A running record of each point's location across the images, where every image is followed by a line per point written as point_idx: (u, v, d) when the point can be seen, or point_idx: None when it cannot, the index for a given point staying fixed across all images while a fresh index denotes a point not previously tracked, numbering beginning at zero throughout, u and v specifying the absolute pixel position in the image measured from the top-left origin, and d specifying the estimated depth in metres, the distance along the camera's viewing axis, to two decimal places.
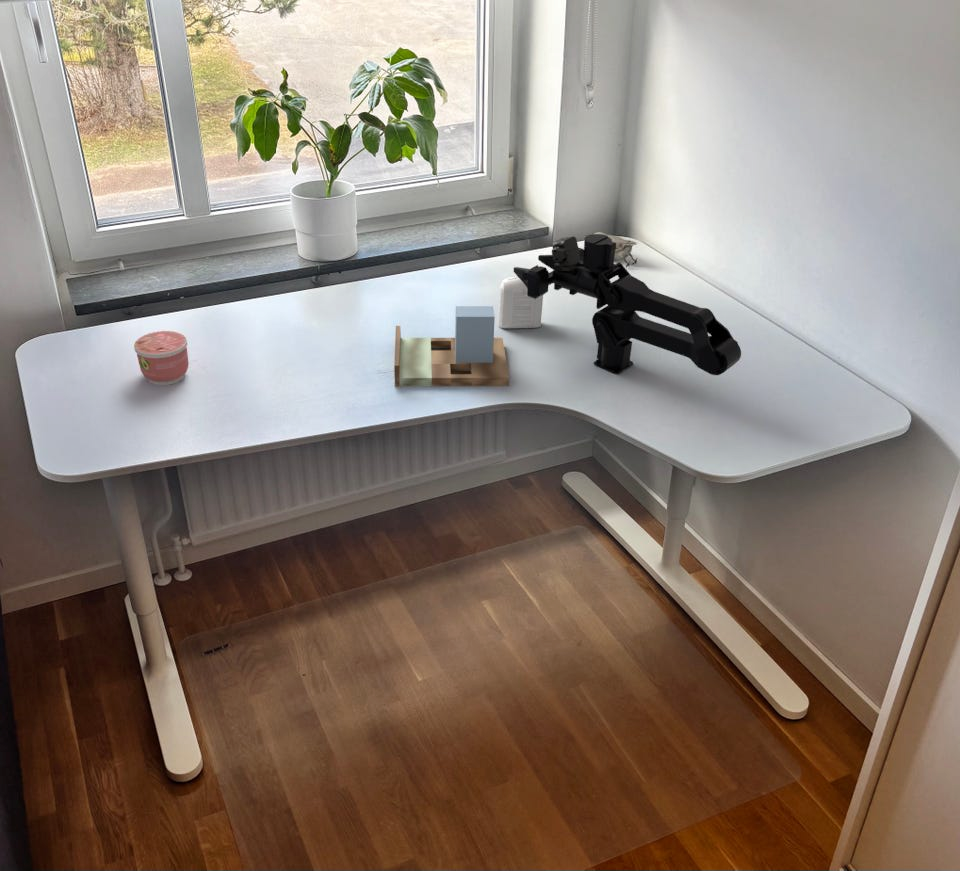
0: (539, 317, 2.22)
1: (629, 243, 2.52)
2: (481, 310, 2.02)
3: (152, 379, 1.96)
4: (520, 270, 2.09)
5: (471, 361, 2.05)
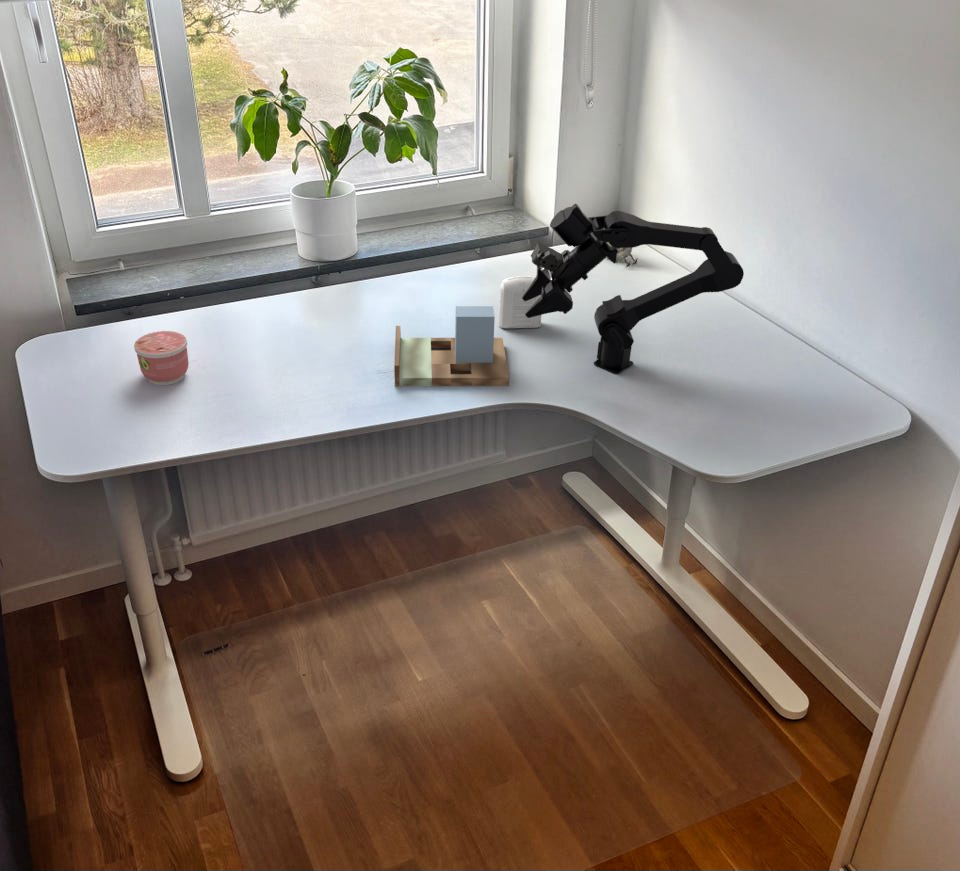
0: (539, 317, 2.22)
1: None
2: (481, 310, 2.02)
3: (152, 379, 1.96)
4: (533, 308, 1.96)
5: (471, 361, 2.05)
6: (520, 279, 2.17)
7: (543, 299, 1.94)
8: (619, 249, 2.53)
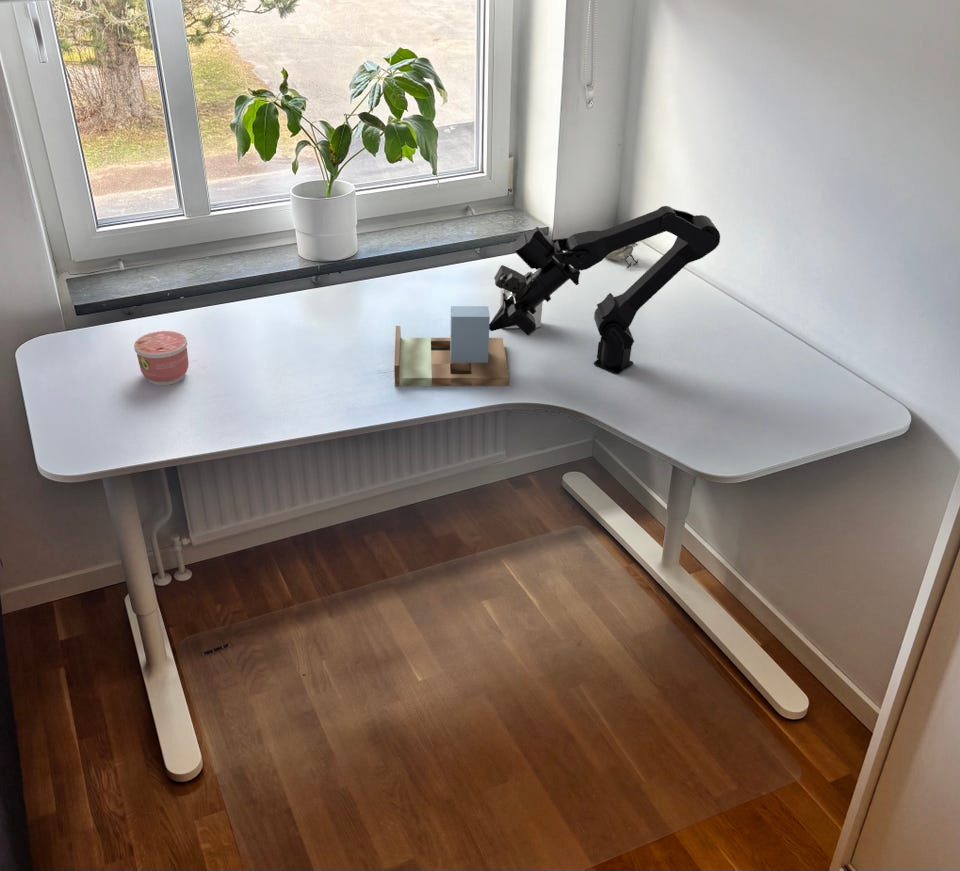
0: (539, 317, 2.22)
1: None
2: (476, 310, 2.02)
3: (152, 379, 1.96)
4: (496, 322, 2.02)
5: (466, 361, 2.05)
6: None
7: (505, 313, 1.99)
8: (620, 250, 2.53)
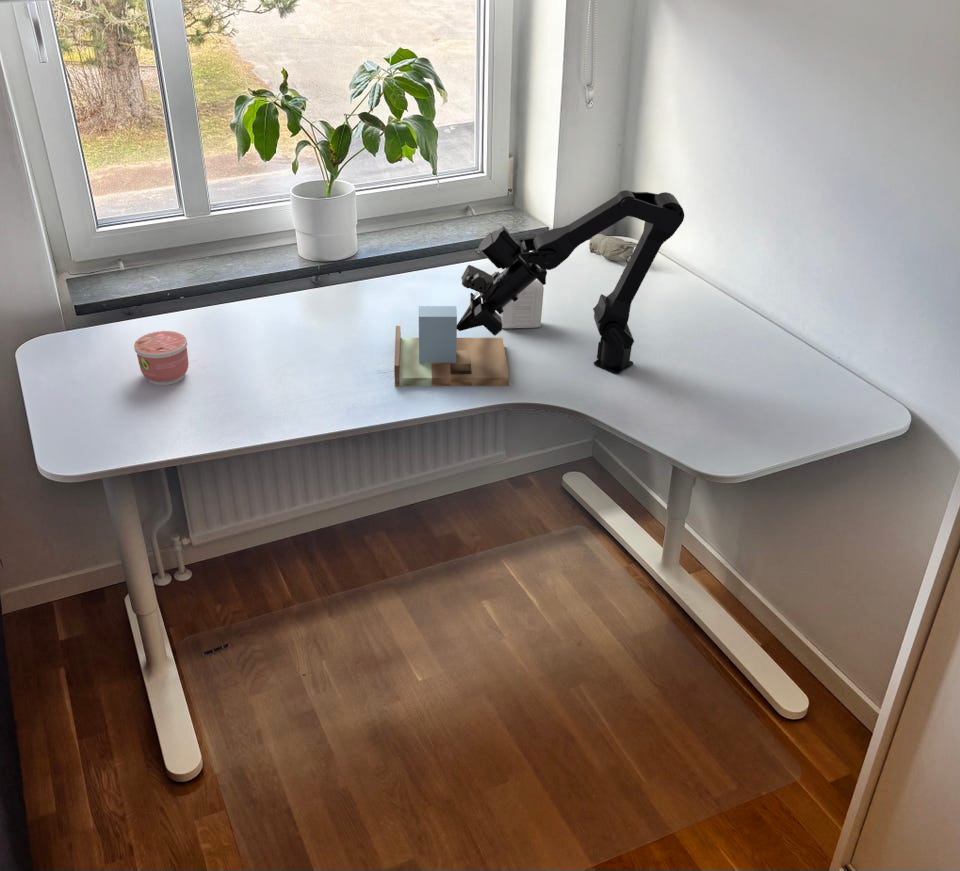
0: (539, 317, 2.22)
1: (631, 244, 2.51)
2: (444, 310, 2.01)
3: (152, 379, 1.96)
4: (464, 321, 2.01)
5: (434, 361, 2.04)
6: None
7: (472, 313, 1.99)
8: (620, 250, 2.53)
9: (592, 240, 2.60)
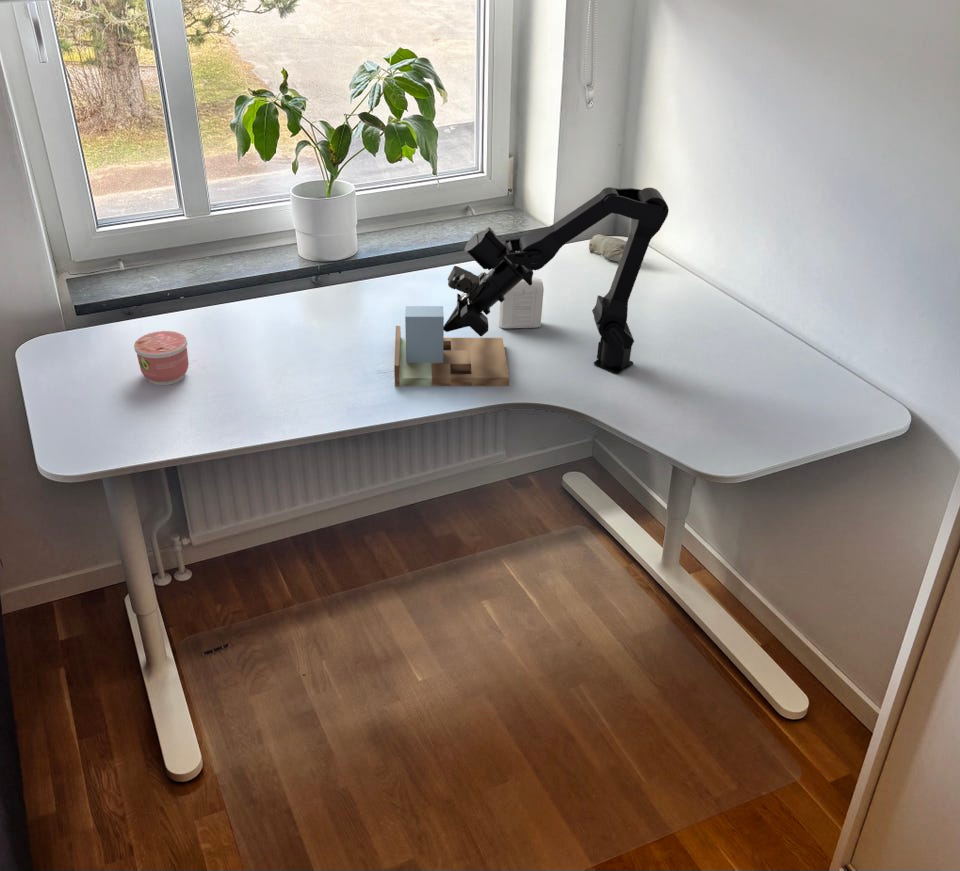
0: (539, 317, 2.22)
1: None
2: (431, 310, 2.01)
3: (152, 379, 1.96)
4: (450, 322, 2.01)
5: (421, 361, 2.04)
6: None
7: (459, 314, 1.99)
8: (621, 251, 2.52)
9: (592, 241, 2.59)
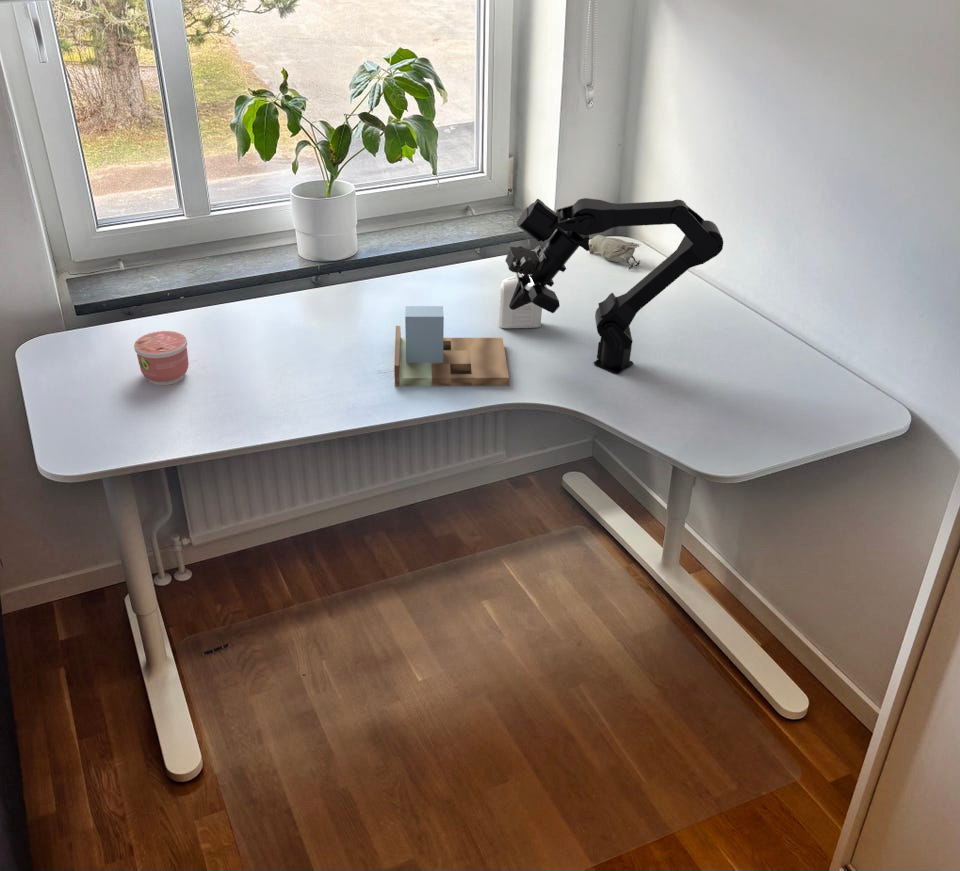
0: (539, 317, 2.22)
1: (632, 245, 2.50)
2: (430, 310, 2.01)
3: (152, 379, 1.96)
4: (516, 301, 2.01)
5: (421, 361, 2.04)
6: None
7: (524, 292, 1.99)
8: (622, 251, 2.52)
9: (592, 241, 2.59)
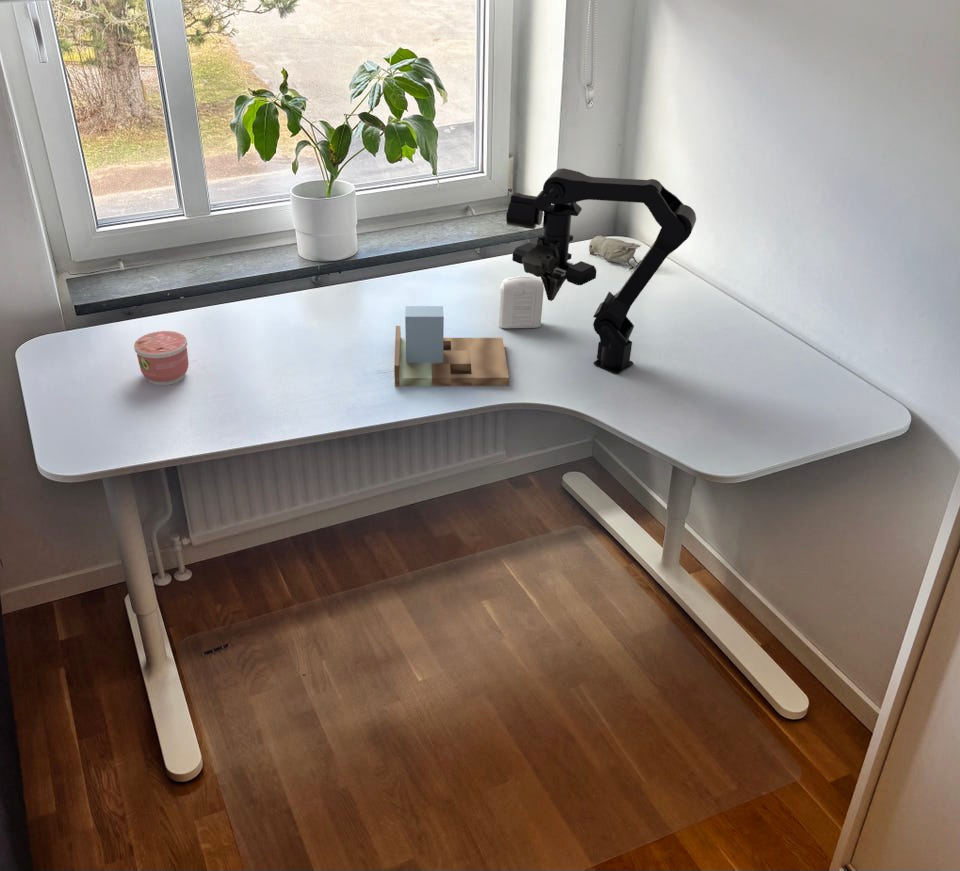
0: (539, 317, 2.22)
1: (633, 246, 2.50)
2: (430, 310, 2.01)
3: (152, 379, 1.96)
4: (553, 292, 2.04)
5: (421, 361, 2.04)
6: (520, 279, 2.17)
7: (556, 281, 2.02)
8: (622, 252, 2.52)
9: (592, 242, 2.58)
